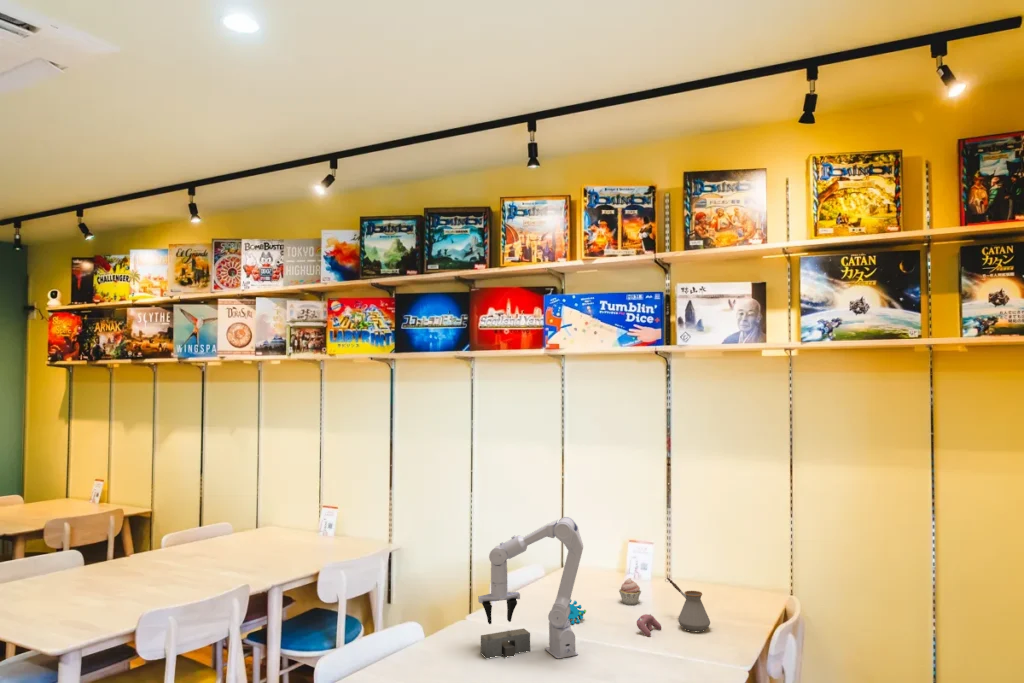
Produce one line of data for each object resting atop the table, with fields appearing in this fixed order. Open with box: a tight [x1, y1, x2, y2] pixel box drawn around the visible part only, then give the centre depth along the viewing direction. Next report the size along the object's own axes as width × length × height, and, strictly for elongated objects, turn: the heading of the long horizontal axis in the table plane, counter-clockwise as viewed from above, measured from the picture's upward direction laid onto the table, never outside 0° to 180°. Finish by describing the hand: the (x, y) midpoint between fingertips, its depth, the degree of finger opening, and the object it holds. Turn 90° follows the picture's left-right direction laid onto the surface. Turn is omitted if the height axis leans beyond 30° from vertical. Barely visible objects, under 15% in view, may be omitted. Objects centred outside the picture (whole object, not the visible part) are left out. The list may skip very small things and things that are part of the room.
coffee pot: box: [664, 576, 711, 632], centre depth 256 cm, size 21×12×15 cm, turn 25°
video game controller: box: [636, 613, 662, 637], centre depth 248 cm, size 10×5×7 cm, turn 141°
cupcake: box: [618, 577, 642, 606], centre depth 282 cm, size 9×9×10 cm
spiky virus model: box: [568, 599, 587, 625], centre depth 261 cm, size 11×6×10 cm
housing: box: [480, 628, 531, 659], centre depth 230 cm, size 5×16×6 cm, turn 113°
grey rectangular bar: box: [502, 641, 516, 658], centre depth 231 cm, size 11×3×3 cm, turn 24°
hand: (499, 622), depth 235 cm, fingers open, 6 cm apart
